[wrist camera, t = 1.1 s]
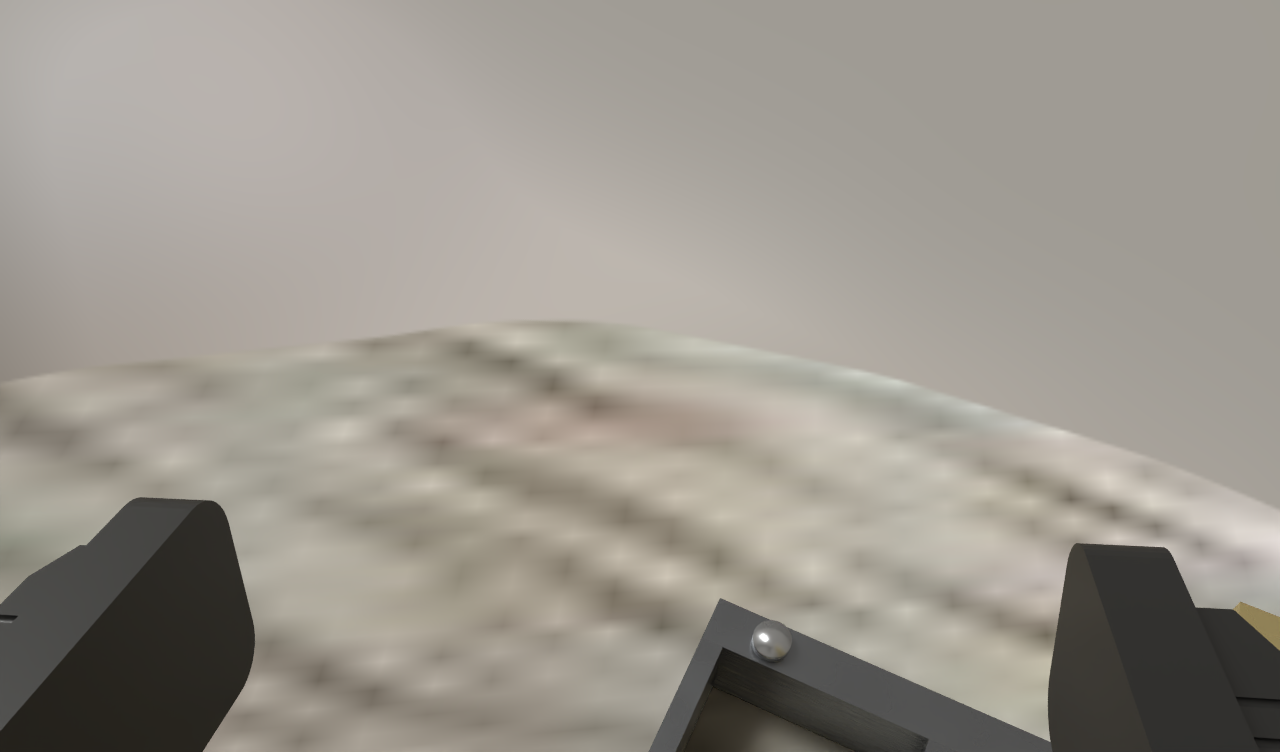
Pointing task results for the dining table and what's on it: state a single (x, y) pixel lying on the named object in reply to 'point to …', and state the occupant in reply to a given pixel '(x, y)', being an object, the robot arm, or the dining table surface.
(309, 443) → the dining table surface
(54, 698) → the robot arm
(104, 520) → the dining table surface
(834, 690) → the grey tray with studs
